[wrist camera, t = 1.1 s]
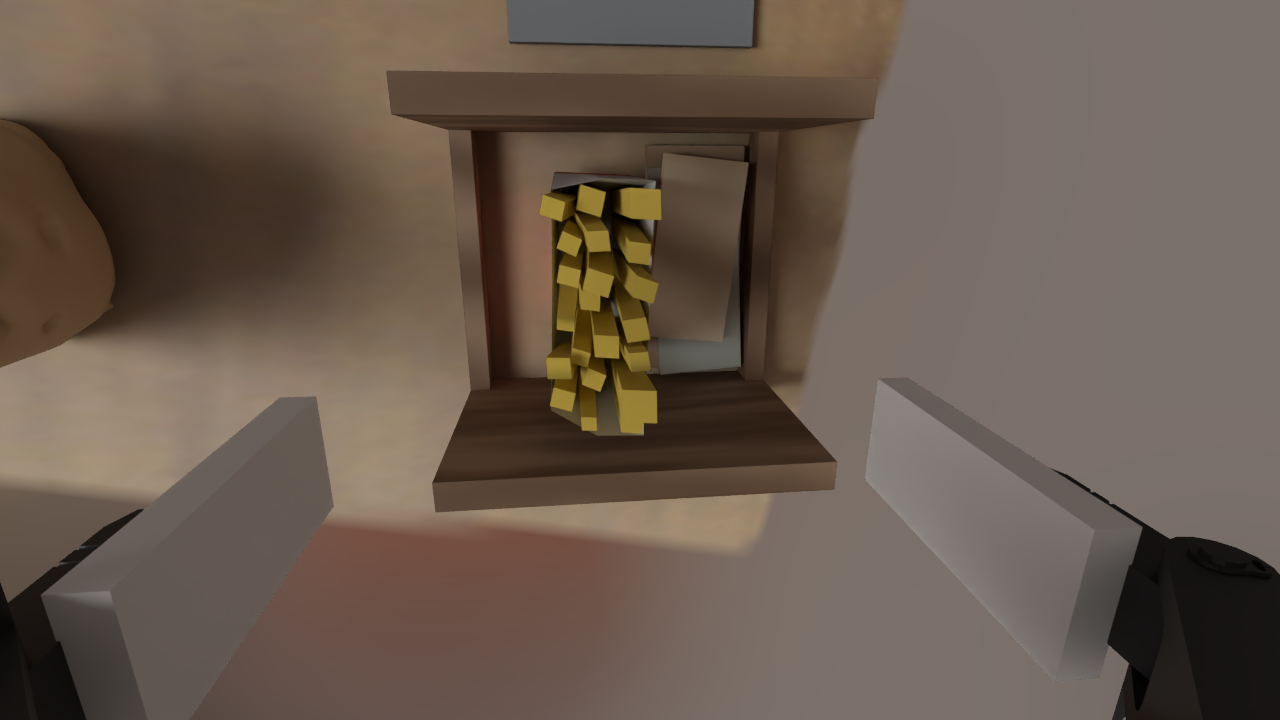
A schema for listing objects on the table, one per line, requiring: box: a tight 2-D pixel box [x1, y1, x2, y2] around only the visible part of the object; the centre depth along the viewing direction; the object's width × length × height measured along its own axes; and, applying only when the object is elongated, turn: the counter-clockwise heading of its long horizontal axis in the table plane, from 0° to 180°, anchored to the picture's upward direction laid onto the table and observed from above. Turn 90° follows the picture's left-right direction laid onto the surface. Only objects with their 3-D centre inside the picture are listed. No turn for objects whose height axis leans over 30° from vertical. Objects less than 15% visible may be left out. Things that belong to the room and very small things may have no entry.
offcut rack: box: [386, 71, 878, 512], centre depth 33 cm, size 18×19×14 cm
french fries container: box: [540, 172, 661, 436], centre depth 31 cm, size 5×11×18 cm, turn 177°
